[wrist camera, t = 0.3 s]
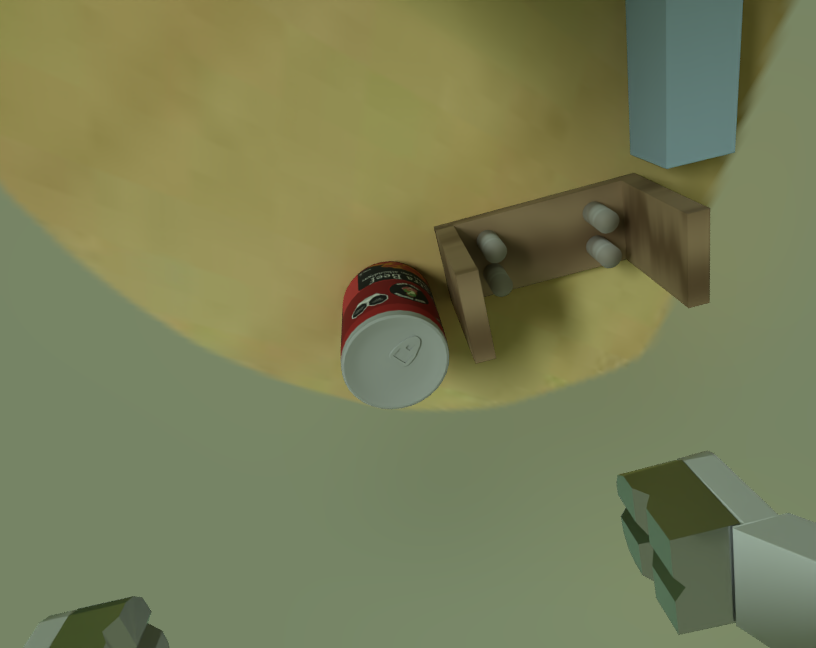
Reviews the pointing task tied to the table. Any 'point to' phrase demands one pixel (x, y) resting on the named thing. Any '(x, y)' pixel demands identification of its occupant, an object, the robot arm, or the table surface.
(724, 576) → the robot arm
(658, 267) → the peg stand
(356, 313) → the canned food
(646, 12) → the pale blue block
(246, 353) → the table surface
